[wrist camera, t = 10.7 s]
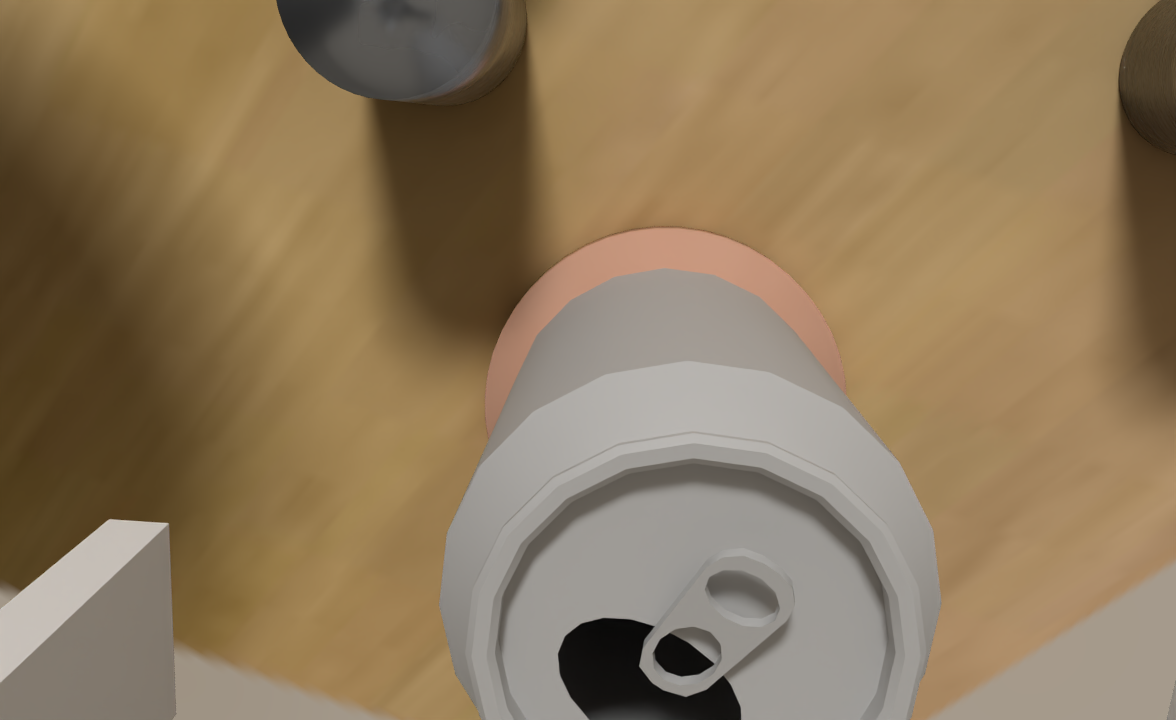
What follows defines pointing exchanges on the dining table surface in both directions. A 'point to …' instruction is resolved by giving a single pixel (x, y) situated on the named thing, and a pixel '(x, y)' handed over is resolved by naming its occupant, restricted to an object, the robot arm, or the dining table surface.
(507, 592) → the can
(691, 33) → the dining table surface
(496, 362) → the pink flat disc
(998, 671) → the dining table surface
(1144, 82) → the chrome peg cluster
